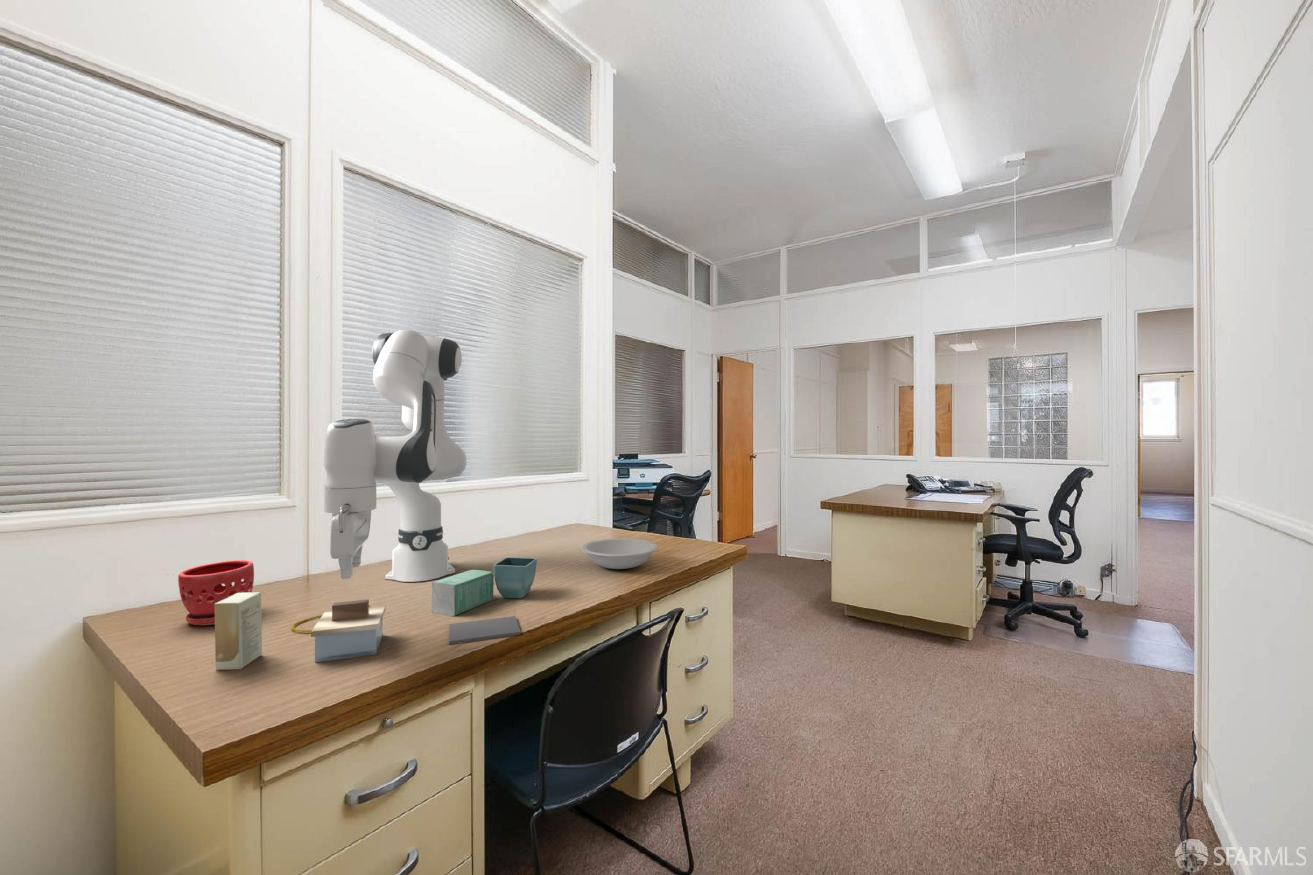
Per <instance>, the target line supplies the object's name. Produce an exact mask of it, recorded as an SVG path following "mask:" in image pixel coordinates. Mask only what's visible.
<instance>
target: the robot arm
mask: <svg viewBox="0 0 1313 875" xmlns="http://www.w3.org/2000/svg"><path fill="white" fill-rule="evenodd" d="M460 347H461V346H459V344H458V343H457V341H454V340H452V339H449V338H446V337H445V338H439V337H435V336H430V335H424V334H421V333H420V332H418V331H415V330H412V329H407V328H406V329H400V330H396V331H394V332H387V333H386V332H384V333H380V335H378V336H377V337H375V339H374V341H373V344H372V349H371V356H372V361H373V363H374V368H373V371H372V383H373V385H374V388H375V389H376V391H377V392H378V393H379V394H380V396H382V397H383V398H385V399H386V400H388V401H389V402H392V403H393V404H396V405H400V406H401V422H402V424H403V426H405V428H407V429H408V430H410V431H411V432H410V433H408V434H406V435H401V436H399V435H398V436H397V435H396V436H395V435H394V436H393V435H392V436H391V435H390V436H387V435H384V436H382V435H377V434H375V431H374V426H373V423H372V421H370V420H368V419H365V418H348V419H340V420H335V421H332V422H331V423H330V424H328V427H327V431H326V435H325V440H324V441H325V442H324V449H323V450H324V451H323V452H324V453H323V461H324V462H323V464H324V465H323V466H324V469H325V472H326V479H325V482H324V488H323V490H324V493H323V494H324V495H323V496H324V498H323V499H324V501H323V502H324V504H323V506H324V512H325V513H327V514H331V525H330V541H329V542H330V545H329V546H330V547H329V550H330V557H331V559H334V560H336V559H337V560H338V566H339V569H340V579H341V580H348V579H351V578H353V575H354V571H353V570H354V568H358V567H360V566H361V564H362V552H363V545H364V543H365V542H366V541H367V540H368V539H369V536H370V531H371V519H372V511H373V510H376V509H377V482H382V483H383V484H385V485H386V486H387V487H388V488H389V489H390V490H391V491H392V493H393V494H394V495H395V498H396V500H397V505H398V511H399V529H398V533H397V538H398V539H397V540H398V544H397V546H395V547H394V548H393V549H392V557H391V558H392V561H391V564H392V566H391V567H392V568H391V570H390V571H389V572H388V573H386V574H385V580H393V581H397V582H403V583H405V582H406V583H409V582H410V583H414V582H425V581H431V580H435V579H439V578H442V577H445V576H447V575H452V574H456V568H455V567H454V566H453V565H452V564H451V563H450V561H449V560H450V557H449V546H448V545H447V544H446V543H445V542H444V540H443V538H444V530H443V528H444V527H443V526H442V502H441V501H440V499H439V497H437V496H436V495H434V494H432V493H430V492H428V491H424V490H422V489H421V487H420V484H421V483H423V482H424V481H425V482H426V481H441V480H442V481H443V480H448V479H449V480H450V479H453V478H458V477H460V476H461V475H462V474H463V472H464V471H465V469H466V466H467V456H466V453H465V451H464V450H463V449H462V448H461V446H460V445H458V444H457V443H455V441H453V439H452V438H451V436H450V435H449V434H448V431H447V428H446V426H445V381H447V380H448V379H450V378H453V377H454V376H455V375H457V374H458V372H459V370H460V368H461V365H462V361H463V356H462V355H463V354H462V351H461V348H460Z"/></svg>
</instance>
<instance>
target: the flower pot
mask: <svg viewBox="0 0 1313 875" xmlns="http://www.w3.org/2000/svg"><path fill="white" fill-rule="evenodd" d="M537 562H538V558H534V557H514V556H513V557H510V556H509V557H508V556H506V557H504V558H503V559H501V560H500V561H497V562H496V563H494V564H493V577H494V582H495V585H496V589H497V591H498V593H499V594H500V595H501V597H502V598H503V599H506V598H507V599H522V598H523V597H525V596H526V595H527V594H528V593H529V591H530V590H531V588H532V586H533V584H534V580H535V577H536V569H537Z"/></svg>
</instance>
